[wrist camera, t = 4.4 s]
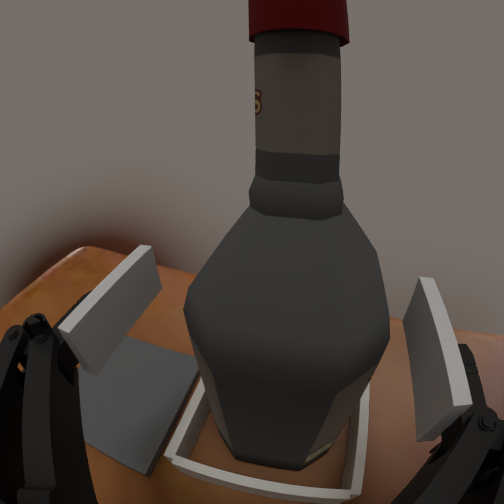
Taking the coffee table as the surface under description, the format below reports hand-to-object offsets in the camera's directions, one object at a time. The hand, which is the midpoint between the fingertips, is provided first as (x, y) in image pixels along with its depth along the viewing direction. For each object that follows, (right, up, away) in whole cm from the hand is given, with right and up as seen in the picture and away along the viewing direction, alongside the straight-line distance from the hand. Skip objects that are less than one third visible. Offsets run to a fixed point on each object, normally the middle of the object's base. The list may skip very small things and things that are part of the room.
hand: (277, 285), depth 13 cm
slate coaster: (-14, -13, +11) cm, 22 cm away
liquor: (+1, -14, +9) cm, 17 cm away
